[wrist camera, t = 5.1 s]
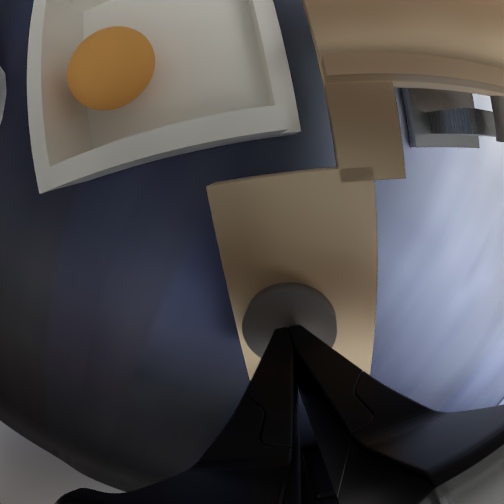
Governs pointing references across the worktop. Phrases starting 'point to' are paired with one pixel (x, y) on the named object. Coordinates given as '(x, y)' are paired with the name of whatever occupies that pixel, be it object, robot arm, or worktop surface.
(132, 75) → the ball
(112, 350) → the worktop surface
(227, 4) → the dish
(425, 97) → the fulcrum
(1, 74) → the foam cup
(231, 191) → the lever
